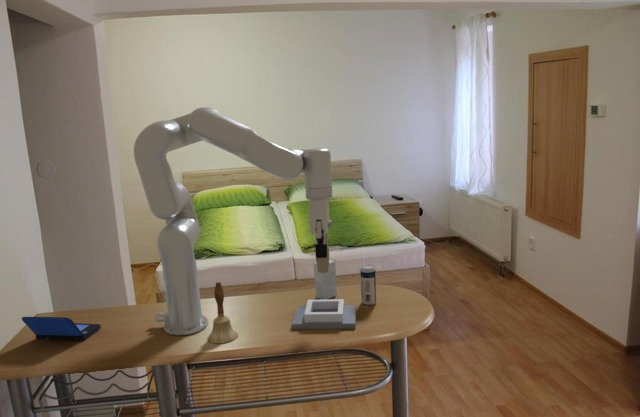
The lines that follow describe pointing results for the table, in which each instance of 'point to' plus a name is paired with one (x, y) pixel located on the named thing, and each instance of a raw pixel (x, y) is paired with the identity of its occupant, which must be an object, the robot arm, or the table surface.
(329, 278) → the skincare box
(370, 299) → the beer can
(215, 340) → the hand bell
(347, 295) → the table surface
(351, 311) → the socket board
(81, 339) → the handheld game console
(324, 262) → the handle
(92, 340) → the table surface
